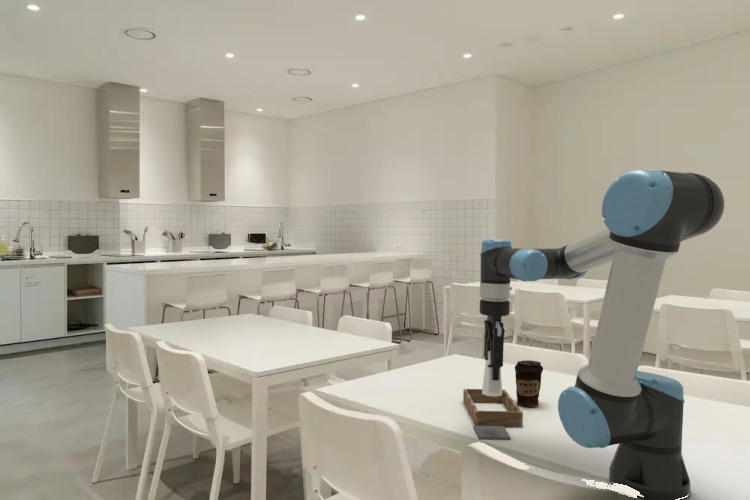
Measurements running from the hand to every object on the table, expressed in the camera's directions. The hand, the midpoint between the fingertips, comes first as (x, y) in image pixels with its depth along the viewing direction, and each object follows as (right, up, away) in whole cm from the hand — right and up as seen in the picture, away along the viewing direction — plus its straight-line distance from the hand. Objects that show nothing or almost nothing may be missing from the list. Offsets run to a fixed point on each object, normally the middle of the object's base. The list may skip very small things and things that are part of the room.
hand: (492, 389), depth 144 cm
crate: (+3, -11, +16) cm, 20 cm away
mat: (0, -12, 0) cm, 12 cm away
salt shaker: (0, -1, 0) cm, 1 cm away
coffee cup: (+16, -11, +25) cm, 32 cm away
